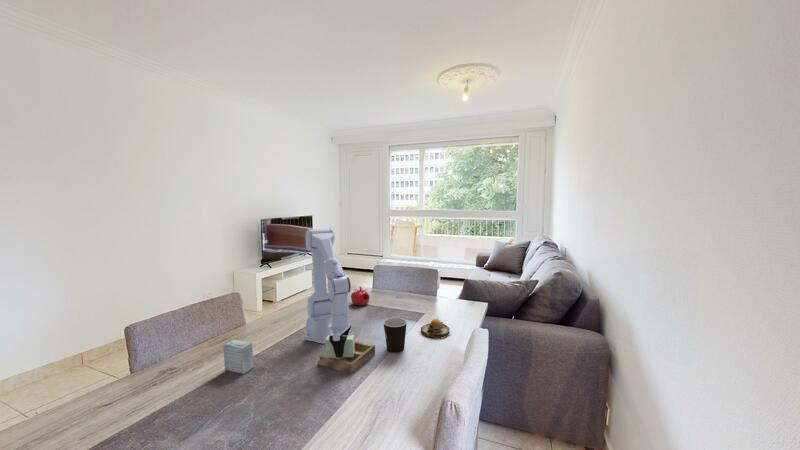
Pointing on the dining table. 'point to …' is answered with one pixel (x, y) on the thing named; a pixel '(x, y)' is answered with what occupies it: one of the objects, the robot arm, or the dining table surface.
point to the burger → (435, 329)
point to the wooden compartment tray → (350, 358)
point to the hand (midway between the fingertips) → (341, 352)
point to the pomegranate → (360, 297)
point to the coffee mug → (395, 334)
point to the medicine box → (238, 356)
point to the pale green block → (348, 347)
